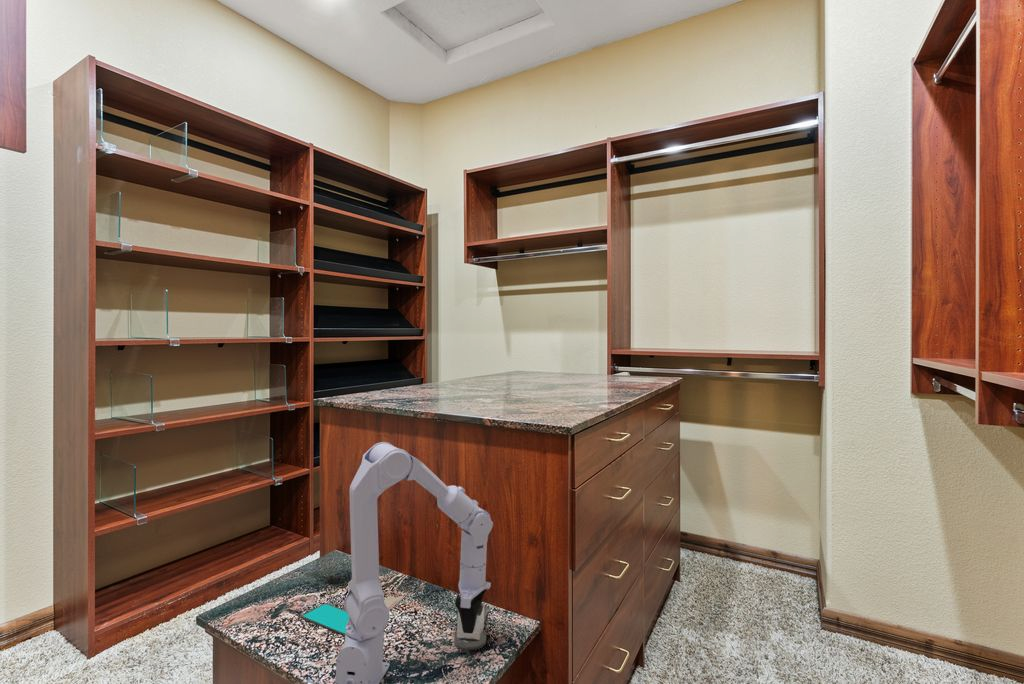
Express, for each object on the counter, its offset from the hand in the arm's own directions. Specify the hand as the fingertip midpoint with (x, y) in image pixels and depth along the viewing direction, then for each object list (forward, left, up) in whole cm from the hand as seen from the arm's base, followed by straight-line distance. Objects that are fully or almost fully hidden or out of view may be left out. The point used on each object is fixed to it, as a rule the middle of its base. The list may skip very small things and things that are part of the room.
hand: (470, 625), depth 104 cm
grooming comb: (+15, +30, -4) cm, 34 cm away
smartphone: (+3, +33, -4) cm, 33 cm away
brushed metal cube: (0, 0, -1) cm, 1 cm away
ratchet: (+4, 0, -3) cm, 5 cm away
